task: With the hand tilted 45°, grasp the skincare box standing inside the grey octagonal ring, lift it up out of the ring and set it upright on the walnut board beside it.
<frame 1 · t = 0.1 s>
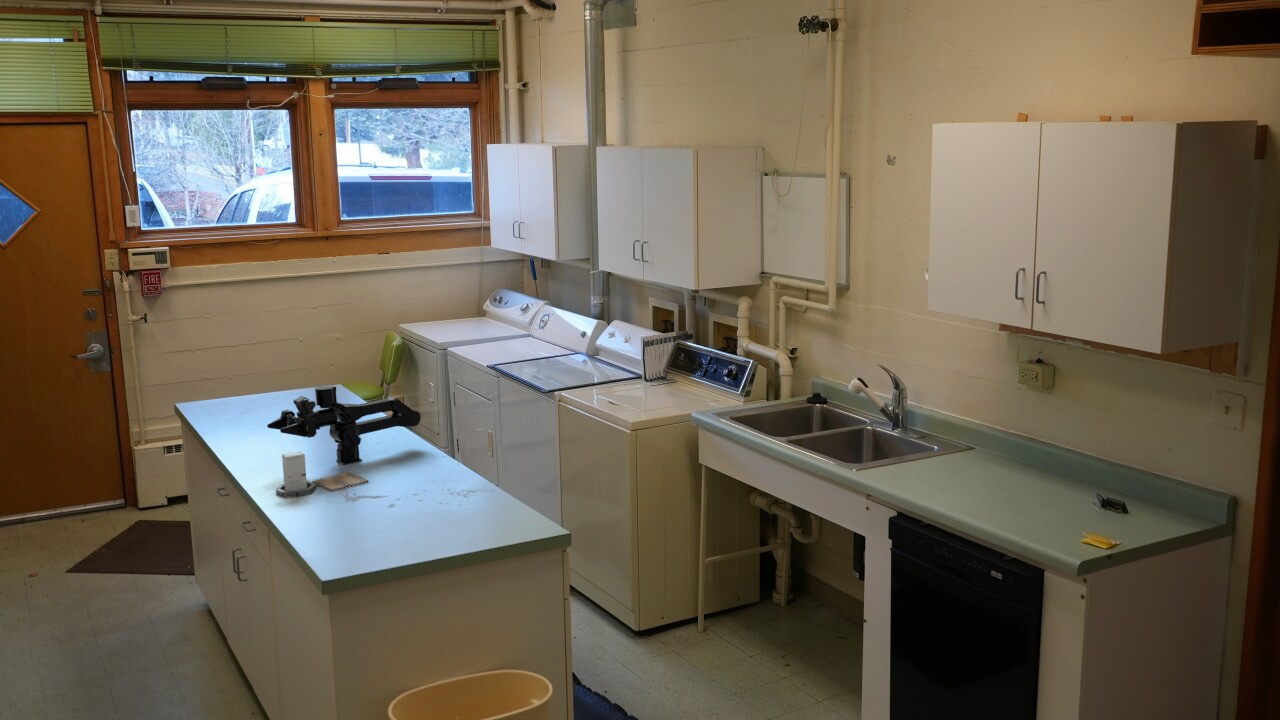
hand: (274, 428, 356), 17 cm above the table, tool horizontal, fingers open, 9 cm apart
grey octagonal ring: (296, 491, 345), on the table
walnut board: (340, 482, 353), on the table
skincare box: (296, 492, 345), resting in grey octagonal ring
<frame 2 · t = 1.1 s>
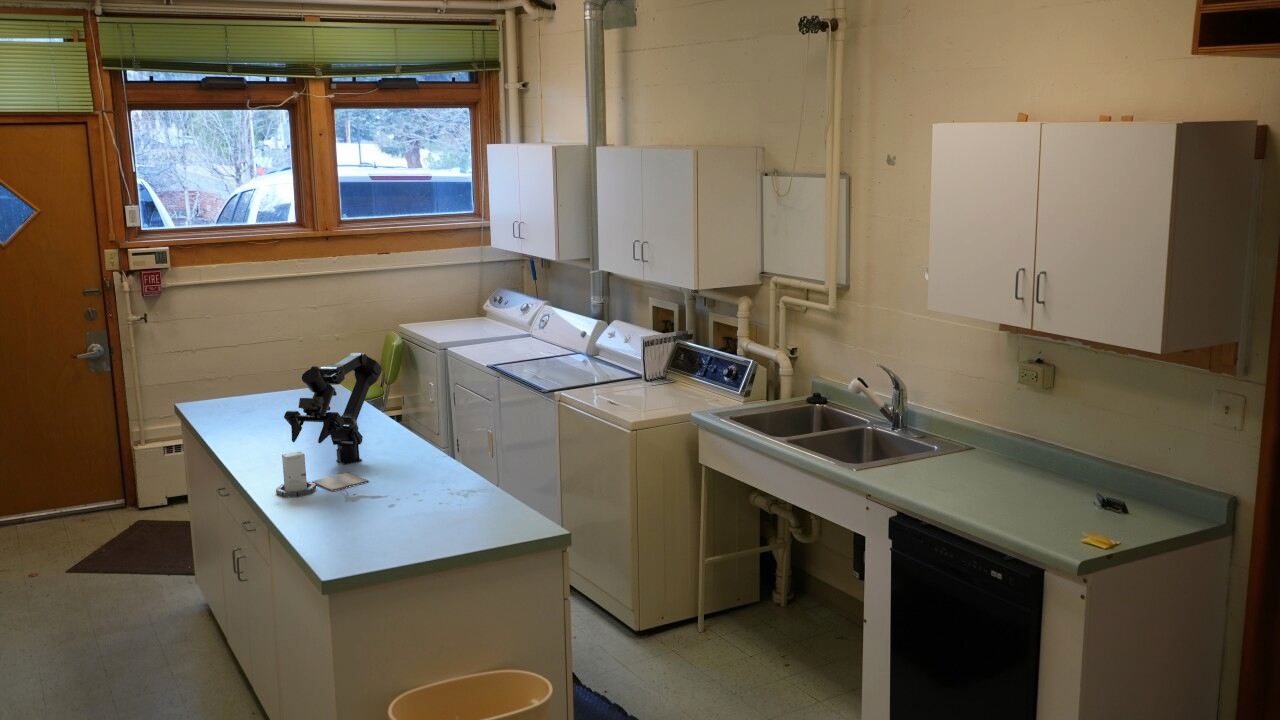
hand: (305, 442, 350), 14 cm above the table, tool tilted 45°, fingers open, 9 cm apart
nothing on the table moved.
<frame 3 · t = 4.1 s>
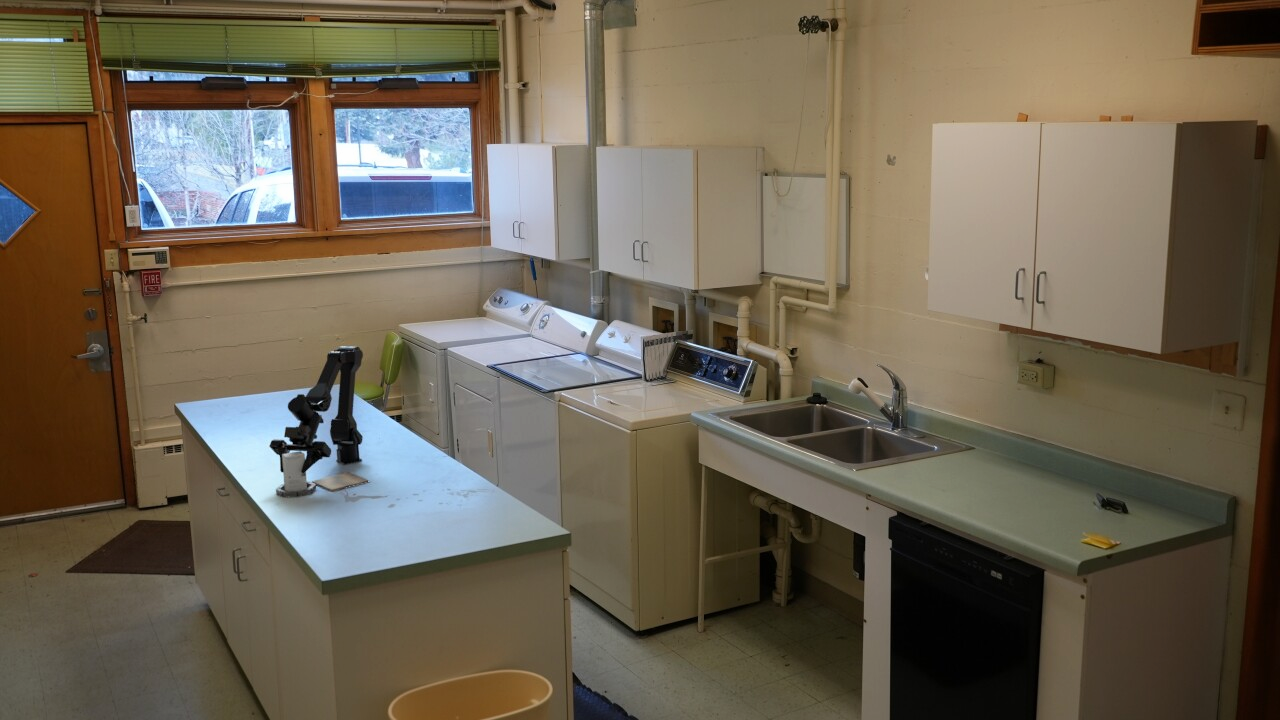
hand: (291, 472, 342), 7 cm above the table, tool tilted 45°, fingers closed on skincare box, 7 cm apart
skincare box: (296, 492, 345), resting in grey octagonal ring, touching gripper
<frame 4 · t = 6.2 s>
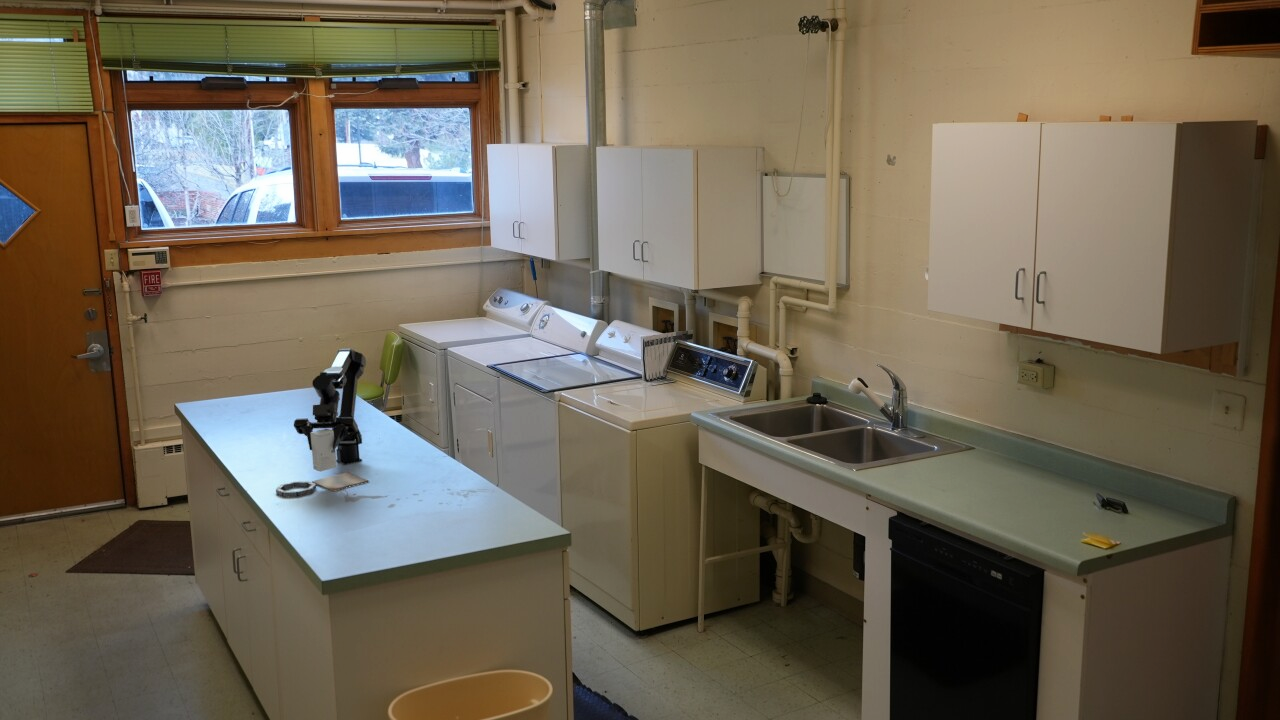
hand: (322, 449, 346), 12 cm above the table, tool tilted 45°, fingers closed on skincare box, 7 cm apart
skincare box: (325, 468, 349), point 5 cm above the table, touching gripper
when the fingers open (8 cm above the table, at t = 8.5 s): skincare box drops 1 cm, resting on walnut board.
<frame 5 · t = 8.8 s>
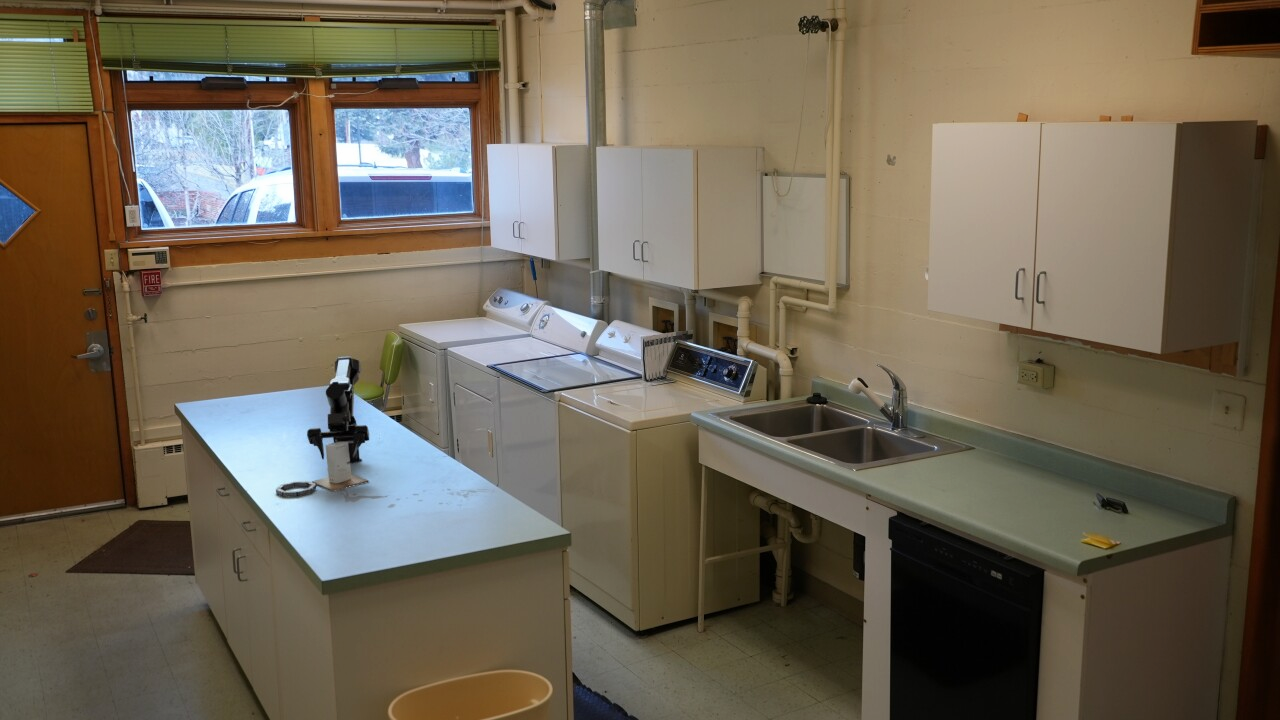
hand: (337, 457, 350), 9 cm above the table, tool tilted 45°, fingers open, 9 cm apart
skincare box: (340, 481, 353), resting on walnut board
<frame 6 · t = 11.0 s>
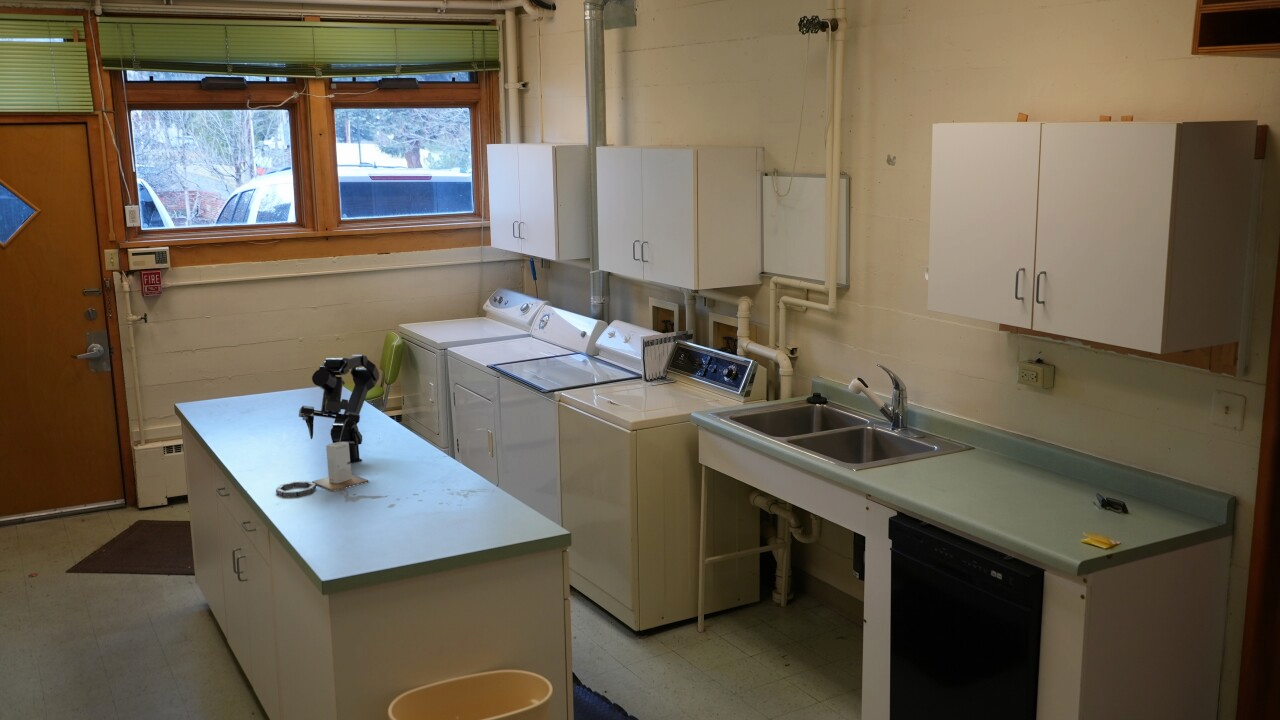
hand: (326, 441, 358), 12 cm above the table, tool tilted 30°, fingers open, 9 cm apart
nothing on the table moved.
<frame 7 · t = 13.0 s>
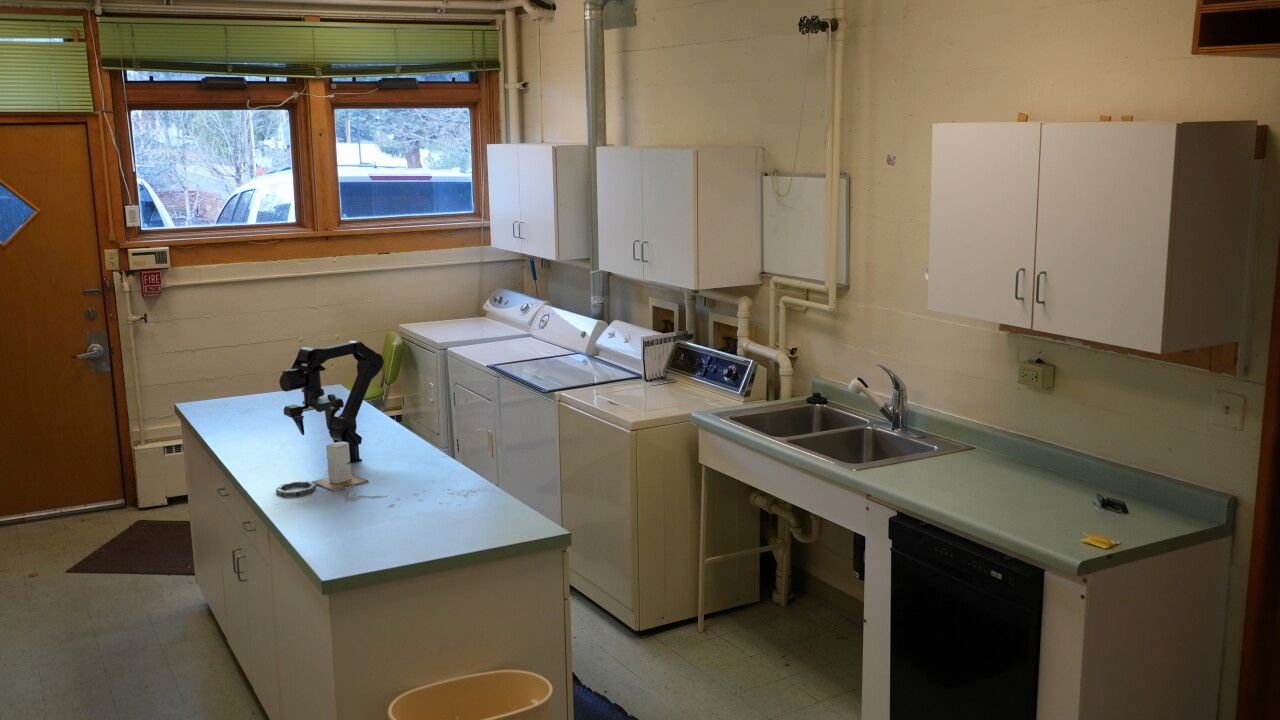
hand: (316, 432, 364), 13 cm above the table, tool pointing down, fingers open, 9 cm apart
nothing on the table moved.
at the end: skincare box inside the target area on the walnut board (0.3 cm from its centre), point 0.4 cm above the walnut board's base; skincare box tilted 0°; the gripper is holding nothing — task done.
